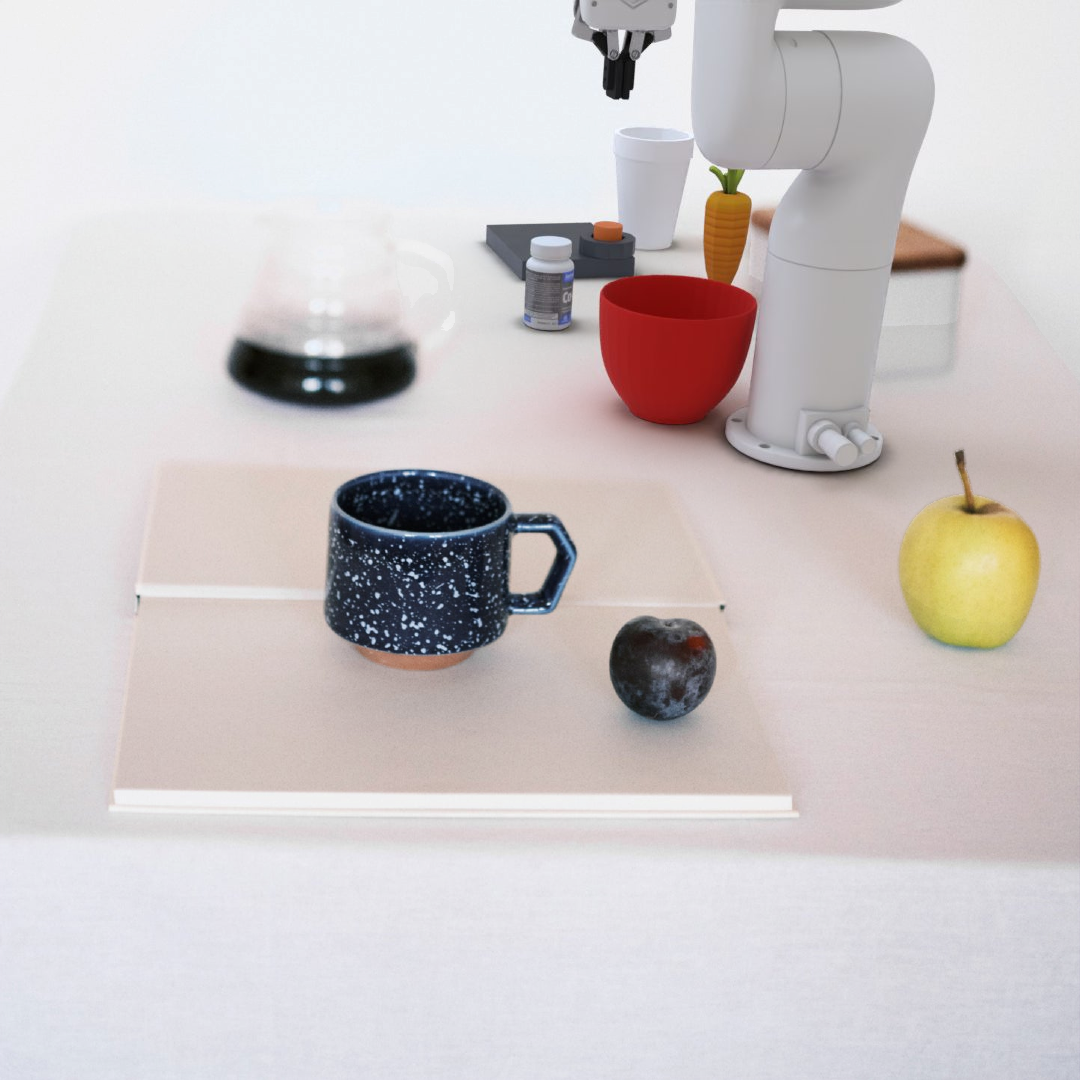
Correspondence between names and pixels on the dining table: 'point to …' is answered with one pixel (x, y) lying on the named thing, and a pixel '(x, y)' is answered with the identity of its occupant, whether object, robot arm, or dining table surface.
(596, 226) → the button
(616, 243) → the scale
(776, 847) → the dining table surface
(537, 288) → the pill bottle
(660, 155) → the foam cup
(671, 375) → the ceramic cup
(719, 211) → the carrot
